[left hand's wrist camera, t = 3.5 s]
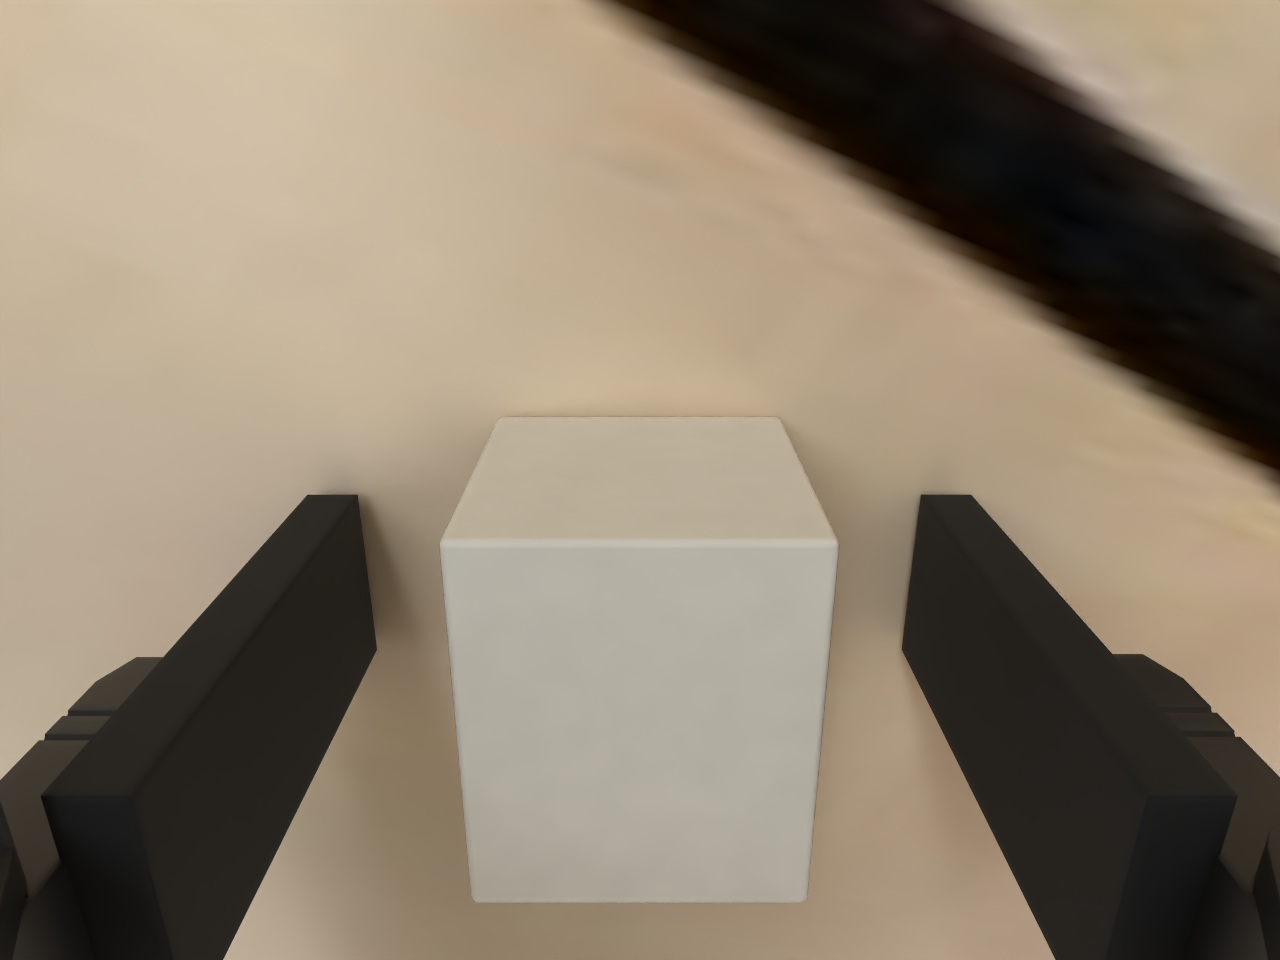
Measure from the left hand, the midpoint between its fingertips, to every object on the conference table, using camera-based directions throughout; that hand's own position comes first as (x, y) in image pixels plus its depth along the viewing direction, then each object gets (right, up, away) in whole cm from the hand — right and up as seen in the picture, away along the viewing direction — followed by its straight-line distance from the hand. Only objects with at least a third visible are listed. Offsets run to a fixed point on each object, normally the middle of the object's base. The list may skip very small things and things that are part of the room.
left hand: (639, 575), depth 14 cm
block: (0, 0, 0) cm, 0 cm away
